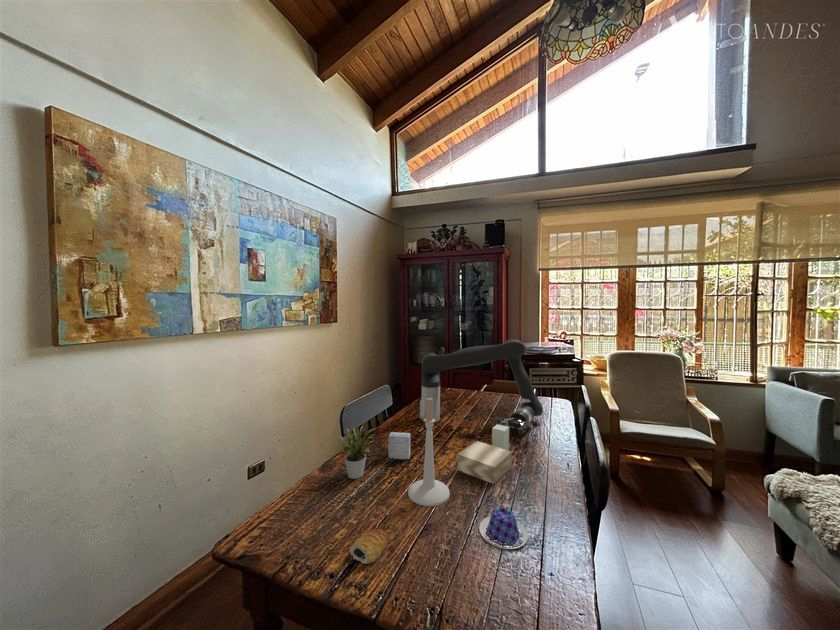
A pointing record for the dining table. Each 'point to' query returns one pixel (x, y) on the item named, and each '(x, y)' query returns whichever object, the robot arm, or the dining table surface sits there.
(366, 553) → the pastry
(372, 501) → the dining table surface
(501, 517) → the pudding
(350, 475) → the house plant
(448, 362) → the robot arm
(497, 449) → the oak block
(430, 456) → the candlestick
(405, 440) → the medicine box
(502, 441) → the pale green block
